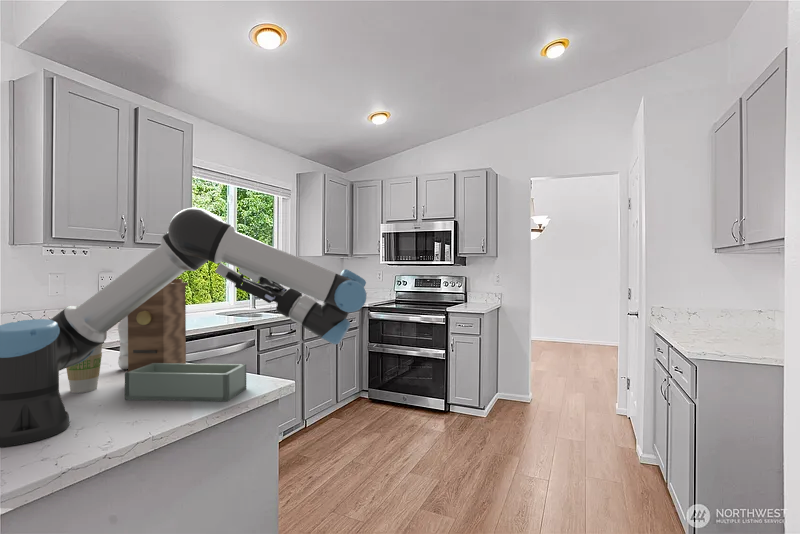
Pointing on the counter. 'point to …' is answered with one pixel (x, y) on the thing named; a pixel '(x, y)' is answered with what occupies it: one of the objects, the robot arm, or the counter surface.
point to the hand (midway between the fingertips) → (229, 267)
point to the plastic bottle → (123, 343)
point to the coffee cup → (85, 373)
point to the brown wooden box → (159, 328)
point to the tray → (185, 382)
